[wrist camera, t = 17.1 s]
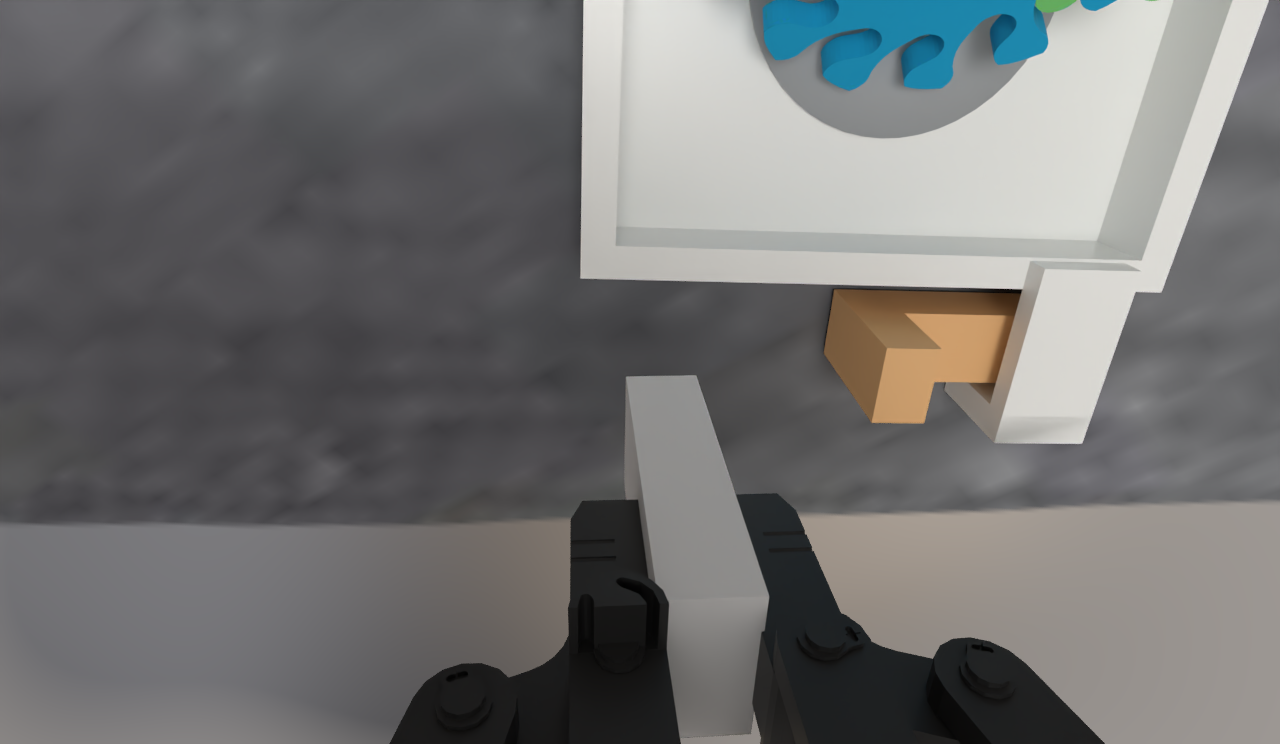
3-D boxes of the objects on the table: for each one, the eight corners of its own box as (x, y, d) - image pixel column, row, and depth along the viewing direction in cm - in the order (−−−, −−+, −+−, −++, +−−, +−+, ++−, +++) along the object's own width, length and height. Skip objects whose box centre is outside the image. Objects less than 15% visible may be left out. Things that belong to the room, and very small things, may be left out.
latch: (823, 353, 26) (871, 422, 22) (834, 288, 25) (887, 348, 21) (1059, 357, 27) (1153, 425, 23) (1079, 294, 26) (1182, 353, 21)
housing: (580, 385, 27) (578, 439, 23) (589, -469, 17) (590, -590, 14) (1059, 391, 28) (1125, 444, 24) (1316, -397, 18) (1482, -492, 15)
